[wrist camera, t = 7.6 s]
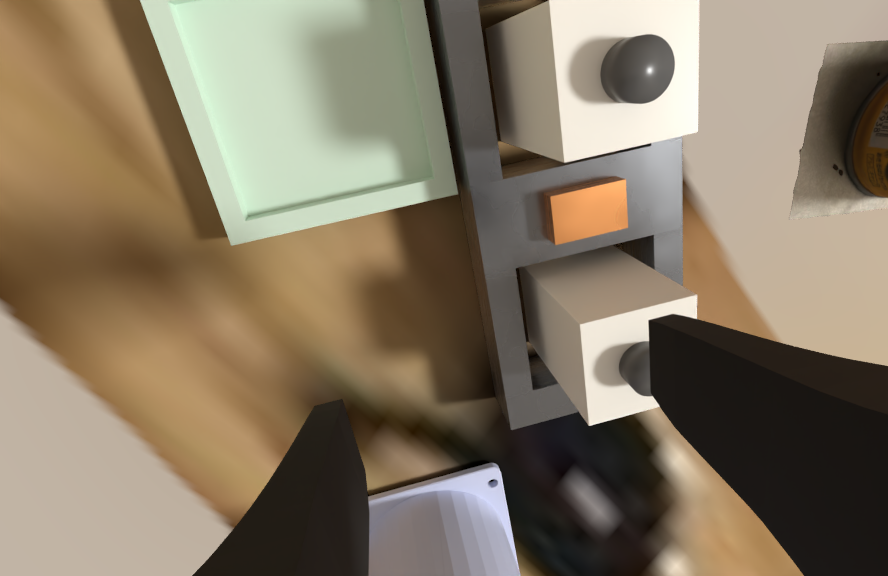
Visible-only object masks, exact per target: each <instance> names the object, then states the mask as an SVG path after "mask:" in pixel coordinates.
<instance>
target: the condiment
mask: <svg viewBox="0 0 888 576" xmlns="http://www.w3.org/2000/svg"><path fill="white" fill-rule="evenodd" d="M799 152H800V166H799V171H798V177H797V180H796V183H795V187H794V192H793V193H794V197H793V202H792V208H791V213H790V217H789V219H790V220H792V219H802V218H811V217H818V216H830V215H835V214H847V213H853V212H861V211H868V210H875V209H885V208H888V41H874V42H856V43H839V44H828V45H827V48H826V52H825V56H824V60H823V65H822V67H821V69H820V71H819V75H818V81H817V85H816V88H815V93H814V98H813V104H812V107H811V110H810V114H809V118H808V123H807V128H806V133H805V138H804V143H803V147H802V149H800V150H799Z"/></svg>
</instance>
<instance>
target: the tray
mask: <svg viewBox="0 0 888 576" xmlns="http://www.w3.org/2000/svg"><path fill="white" fill-rule="evenodd" d="M140 2H141V4H142V7H143V10H144V12H145V15H146V18H147V20H148V23H149V26H150V28H151V31H152V34H153V36H154V39H155V42H156V45H157V47H158V50H159V53H160V55H161V58H162V61H163V63H164V66H165V69H166V71H167V74H168V77H169V80H170V82H171V85H172V88H173V90H174V93H175V96H176V98H177V101H178V104H179V106H180V109H181V112H182V114H183V117H184V120H185V123H186V125H187V128H188V131H189V133H190V136H191V139H192V141H193V144H194V147H195V149H196V152H197V155H198V157H199V160H200V163H201V166H202V168H203V171H204V174H205V176H206V179H207V182H208V184H209V187H210V190H211V192H212V195H213V198H214V200H215V203H216V206H217V209H218V211H219V214H220V217H221V219H222V222H223V225H224V227H225V230H226V233H227V235H228V238H229V241H230V243H231V246H232V245H237V244H241V243H245V242H250V241H254V240H259V239H263V238H267V237H272V236H276V235H281V234H285V233H289V232H294V231H298V230H303V229H307V228H311V227H316V226H320V225H325V224H329V223H333V222H338V221H342V220H347V219H351V218H355V217H360V216H364V215H369V214H373V213H377V212H382V211H386V210H391V209H395V208H399V207H404V206H408V205H413V204H417V203H421V202H426V201H430V200H435V199H439V198H443V197H448V196H452V195H456V194H458V190H457V185H456V179H455V174H454V168H453V162H452V157H451V151H450V146H449V140H448V134H447V129H446V123H445V118H444V112H443V106H442V101H441V95H440V90H439V84H438V79H437V73H436V67H435V62H434V56H433V51H432V45H431V39H430V34H429V28H428V23H427V17H426V11H425V6H424V0H140Z"/></svg>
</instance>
